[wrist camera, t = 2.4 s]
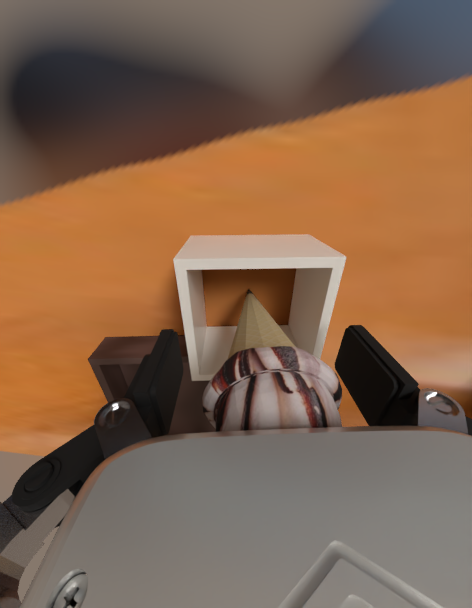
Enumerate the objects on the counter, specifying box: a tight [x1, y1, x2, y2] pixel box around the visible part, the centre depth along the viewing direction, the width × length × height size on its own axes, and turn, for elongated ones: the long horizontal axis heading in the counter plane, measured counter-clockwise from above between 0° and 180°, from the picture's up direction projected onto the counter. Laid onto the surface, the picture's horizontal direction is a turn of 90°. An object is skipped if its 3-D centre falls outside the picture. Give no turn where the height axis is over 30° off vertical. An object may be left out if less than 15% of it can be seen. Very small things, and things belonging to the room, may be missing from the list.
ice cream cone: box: [202, 289, 342, 432], centre depth 12 cm, size 6×6×15 cm
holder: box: [173, 234, 346, 381], centre depth 16 cm, size 9×9×6 cm
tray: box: [88, 335, 216, 436], centre depth 24 cm, size 18×18×3 cm
